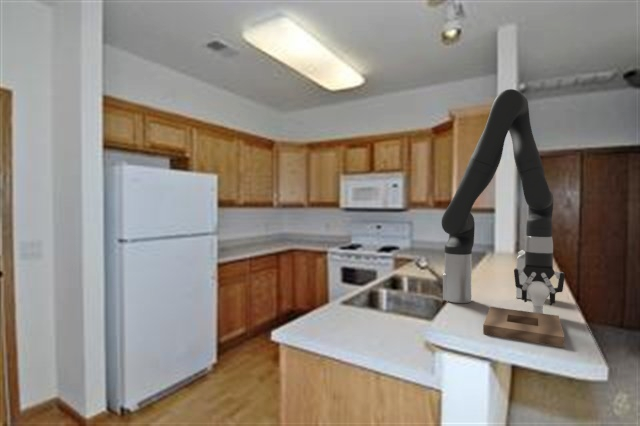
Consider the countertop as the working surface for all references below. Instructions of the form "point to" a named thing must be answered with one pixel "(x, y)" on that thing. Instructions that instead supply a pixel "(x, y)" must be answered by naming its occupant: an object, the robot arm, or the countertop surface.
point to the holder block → (524, 326)
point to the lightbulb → (538, 295)
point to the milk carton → (522, 277)
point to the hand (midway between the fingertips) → (538, 302)
